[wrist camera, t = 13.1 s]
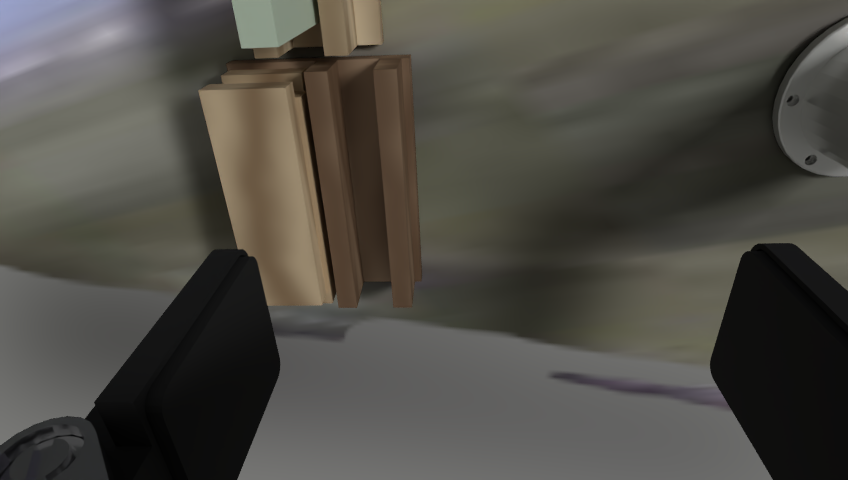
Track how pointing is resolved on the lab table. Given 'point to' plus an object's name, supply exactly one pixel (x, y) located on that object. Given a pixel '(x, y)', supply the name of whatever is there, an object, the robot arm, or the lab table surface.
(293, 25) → the tall sheet
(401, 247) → the rack
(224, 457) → the robot arm
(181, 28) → the lab table surface
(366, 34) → the cradle
